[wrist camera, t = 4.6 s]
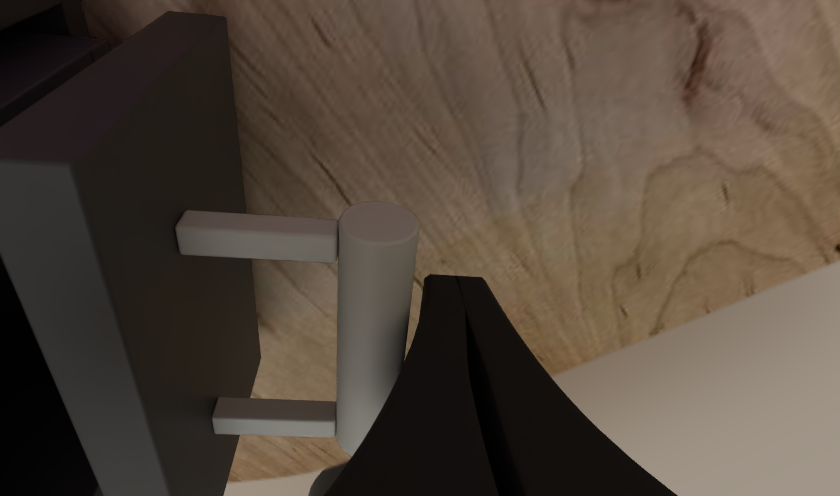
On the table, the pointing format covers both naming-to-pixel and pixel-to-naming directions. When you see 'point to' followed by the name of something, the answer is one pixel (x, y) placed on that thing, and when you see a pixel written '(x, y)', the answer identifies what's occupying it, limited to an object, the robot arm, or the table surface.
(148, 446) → the drawer
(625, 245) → the table surface
